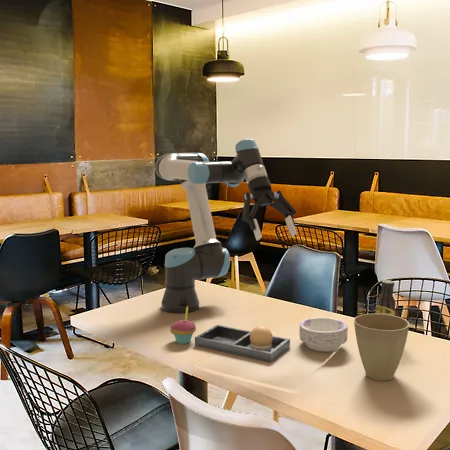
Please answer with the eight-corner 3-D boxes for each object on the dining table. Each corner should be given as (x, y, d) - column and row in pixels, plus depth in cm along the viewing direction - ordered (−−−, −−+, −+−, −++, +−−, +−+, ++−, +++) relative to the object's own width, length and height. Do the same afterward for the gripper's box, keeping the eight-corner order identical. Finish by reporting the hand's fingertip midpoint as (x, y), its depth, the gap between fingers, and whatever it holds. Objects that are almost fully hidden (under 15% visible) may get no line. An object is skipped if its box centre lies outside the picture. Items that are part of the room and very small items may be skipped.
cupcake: (185, 334, 185) (184, 301, 183) (201, 341, 179) (201, 306, 177) (165, 341, 179) (164, 306, 177) (181, 348, 173) (181, 312, 171)
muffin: (245, 352, 168) (245, 328, 167) (256, 344, 174) (256, 321, 173) (266, 356, 164) (266, 332, 163) (276, 348, 170) (276, 325, 169)
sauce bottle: (370, 338, 182) (372, 281, 179) (379, 333, 186) (381, 277, 183) (388, 343, 177) (391, 284, 174) (397, 338, 182) (400, 281, 179)
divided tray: (194, 347, 173) (194, 337, 173) (217, 334, 185) (217, 324, 185) (271, 365, 160) (271, 353, 159) (289, 349, 172) (290, 339, 171)
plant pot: (403, 367, 159) (406, 314, 156) (409, 389, 144) (412, 332, 142) (351, 362, 162) (353, 311, 159) (351, 383, 148) (354, 328, 145)
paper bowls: (296, 338, 181) (297, 316, 180) (342, 339, 181) (343, 316, 180) (301, 356, 166) (302, 332, 165) (351, 357, 166) (352, 332, 165)
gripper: (230, 176, 175) (249, 235, 167) (293, 173, 187) (313, 228, 179) (221, 188, 181) (239, 245, 173) (282, 184, 193) (302, 237, 185)
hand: (277, 236), depth 176 cm, fingers open, 13 cm apart
